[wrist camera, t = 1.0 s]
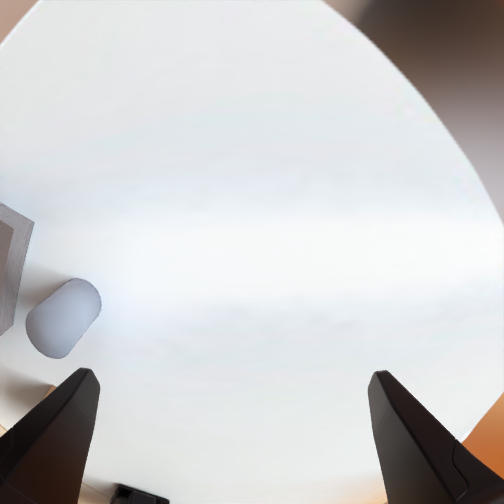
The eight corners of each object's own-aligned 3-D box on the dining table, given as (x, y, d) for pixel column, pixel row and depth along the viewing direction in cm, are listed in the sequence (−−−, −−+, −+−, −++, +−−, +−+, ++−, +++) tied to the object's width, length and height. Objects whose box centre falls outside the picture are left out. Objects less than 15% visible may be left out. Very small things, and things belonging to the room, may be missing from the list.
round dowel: (94, 328, 23) (66, 367, 17) (57, 308, 22) (22, 341, 16) (107, 291, 22) (77, 324, 16) (67, 270, 22) (30, 297, 16)
